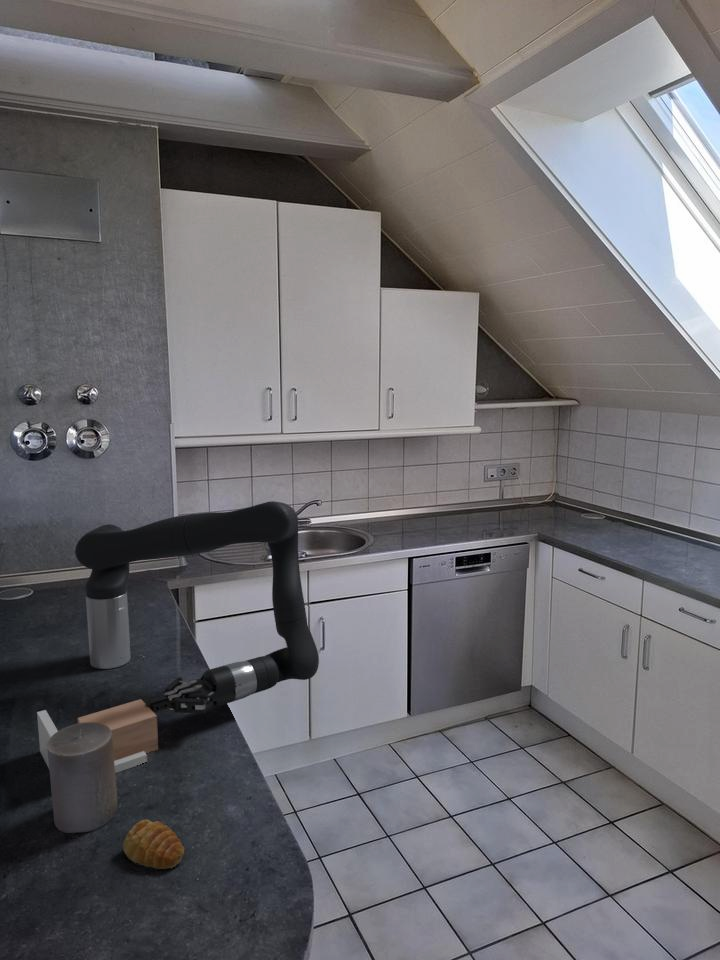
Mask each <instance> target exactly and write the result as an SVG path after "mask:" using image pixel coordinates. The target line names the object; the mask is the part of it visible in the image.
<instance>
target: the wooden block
mask: <svg viewBox="0 0 720 960" xmlns="http://www.w3.org/2000/svg"><path fill="white" fill-rule="evenodd" d="M85 722H95V723H96V722H97V723H101V724H104V725H107V726H108V727H109V728H110V729H111V732H112V742H113V752H114V761H116V760H119V759H122V758H125V757H128V756H131V755H134V754H137V753H140V752H143V751H144V752H145V753H148V754H150V753H149V752H151V751H154V752H156V751H159V737H158V735H159V734H158V716H157V715H156V712H155V713H154V712H153V711H152V710H151V709H150V708H149V707H148V706H147V705H146V702H145V701H143V700H142V699H141V698H140V699H137V700H134V701H130V702H127V703H122V704H120V705H117V706H113V707H110V708H107V709H103V710H100V711H97V712H93V713H89V714H87V715H83V716H79V717H77V724H79V723H85ZM155 750H156V751H155ZM151 753H152V752H151Z"/></svg>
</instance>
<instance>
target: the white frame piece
mask: <svg viewBox="0 0 720 960" xmlns="http://www.w3.org/2000/svg"><path fill="white" fill-rule="evenodd" d="M36 716H37V717H36V718H37V729H38V740H39V742H38V743H39V752H40V754H41V756H42V758H43V760H44V763H45V764H46V766H47V768H48V769H49V761H48V749H47V743H48V741H49V739H50V738H51V737H52V736H53V735H54V734H55V733H56V732H58V731H59V730H58V729H57V727H56V726H55V723H54V722H53V720H52V718H51V717H50V715H49V713H48V711H47V710H46V709H44V710H40V711H36ZM145 762H147V763H148V755H147V754H146V753H145V752H144V751H143V752H140V753H137V754H134V755H131V756H128V757H125V758H122V759H119V760H116V761H114V765H115V774H117V773H121V772H123V771H126V770H129V769H132V768H134V767H137V765H138V766H140V764H141V765H143V764H142V763H144V764H146V763H145Z"/></svg>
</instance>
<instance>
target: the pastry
mask: <svg viewBox="0 0 720 960" xmlns="http://www.w3.org/2000/svg"><path fill="white" fill-rule="evenodd" d="M122 849H123V852H124V854H125V855H126V857H127V858H128V860H130V861H132V862H133V863H134V862H135V863H134V864H136V863H139V864H142V865H144V866H143V867H145V866H148V867H147V868H149V867H153V868H158V869H164V868H166V869H167V868H171V869H173V867H174V868H175V867H176V866H177V865H178V864H179V863H181V861H182V859H183V856H184V854H185V847H184V845H183V844H182V841H181V839H180V838H178V835H177V834H176V832H174V831H173V830H172V829H171V828H170V827H169V826H168V825H165V824H164V823H163V822H161V821H159V820H156V821H151V820H149V819H142V820H140V821H138V822H136V823H135V824H134V825H133V826H132V827H131V829H130V830H129V831H128V832H127V834H126V836H125V839H124V840H123V843H122ZM139 864H138V865H139ZM142 865H141V866H142ZM164 870H165V869H164Z"/></svg>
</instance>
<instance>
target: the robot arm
mask: <svg viewBox="0 0 720 960" xmlns="http://www.w3.org/2000/svg"><path fill="white" fill-rule="evenodd" d="M298 517H299V516H298V515H297V512H296V510H295V509H294V508H293V507H292V506H291V505H289V504H287V503H284V502H280V501H274V500H271V501H266V502H263V503H259V504H255V505H252V506H249V507H245V508H241V509H235V510H232V511H231V510H230V511H222V512H221V511H220V512H219V511H217V512H200V513H190V514H184V515H178V516H172V517H169V518H165V519H161V520H157V521H154V522H151V523H149V524H146V525H145V524H144V525H142V526H138V527H137V528H133V529H128V530H123V529H121V527H120V526H117V525H116V524H111V523H109V524H103V525H100V526H98V527H96V528H94V529H91V530H90V531H87V532H86V533H85V534H84V535H83V536H82V537H80V539H79V540H78V541H77V543H76V545H75V550H74V551H75V553H74V554H75V557H76V559H77V561H78V562H79V563H80V565H82V566H83V567H85V568H88V569H90V570H91V573H90V575H89V577H88V580H87V581H86V582H85V590H84V591H85V604H86V605H85V606H86V617H87V632H88V633H87V634H88V647H89V648H88V650H89V652H88V653H89V663H90V666H91V667H92V668H95V669H98V670H99V669H100V670H108V669H109V670H110V669H114V668H119V667H122V666H124V665H126V664H128V663H129V662H130V661H131V659H132V658H131V645H130V644H131V642H130V641H131V640H130V625H129V623H130V622H129V603H128V581H129V579H130V563H133V562H139V561H149V560H162V559H169V558H170V559H172V558H177V557H178V558H179V557H186V556H193V555H199V554H200V555H201V554H204V553H208V552H212V551H215V550H218V549H221V548H223V547H226V546H227V547H228V546H230V545H237V544H249V543H251V544H252V543H266V544H268V548H269V551H270V556H271V562H272V587H271V590H272V593H271V594H272V595H271V599H272V608H273V617H274V622H275V629H276V632H277V634H278V635H279V636H280V637H281V638H283V639H284V641H285V644H286V647H282V648H280V649H276V650H274V651H272V652H269V653H268V654H265V655H262V656H257V657H255V658H250V659H246V660H242V661H236V662H231V663H227V664H223V665H221V666H216V667H214V668H213V667H212V668H210V669H207V670H205V671H204V672H203V674H202V676H201V677H200V678H198V679H197V678H196V679H191V680H189V681H183V677H177V678H175V679H174V680H173V681H172V682H171V683H170V684H169V685H167V686H166V687H165V688H164V690H163V691H164V695H161V696H158V697H154V698H150V699H148V700H146V701H145V704H146V705H147V706H148V707H149V708H150V709H151V710H152V711H153V712H154V713H155V714H156V713H157V712H161V711H164V710H169V711H173V710H174V713H176V714H205V713H206V709H207V708H206V707H207V706H208V705H209V707H212V708H217V707H220V706H224V705H226V704H230V703H234V702H236V701H239V700H242V699H246V698H247V697H249V696H251V695H255V694H257V693H260V692H265V691H266V690H269V689H272V688H273V687H276V685H277V684H278V683H280V682H283V681H286V680H299V681H305V680H307V681H308V680H310V679H311V678H313V677H314V676H315V675H316V674H317V672H318V669H319V664H320V660H319V659H320V658H319V657H320V656H319V651H318V648H317V645H316V643H315V639H314V638H313V635H312V633H311V630H310V627H309V625H308V617H307V612H306V604H305V599H304V594H303V587H302V585H303V584H302V579H301V572H300V562H299V561H300V558H299V518H298Z"/></svg>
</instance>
